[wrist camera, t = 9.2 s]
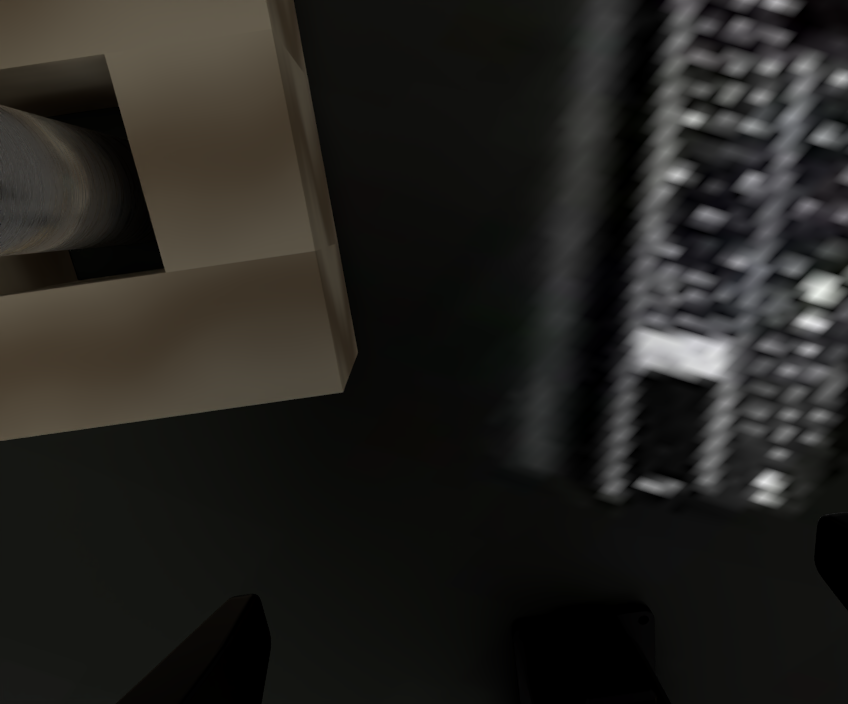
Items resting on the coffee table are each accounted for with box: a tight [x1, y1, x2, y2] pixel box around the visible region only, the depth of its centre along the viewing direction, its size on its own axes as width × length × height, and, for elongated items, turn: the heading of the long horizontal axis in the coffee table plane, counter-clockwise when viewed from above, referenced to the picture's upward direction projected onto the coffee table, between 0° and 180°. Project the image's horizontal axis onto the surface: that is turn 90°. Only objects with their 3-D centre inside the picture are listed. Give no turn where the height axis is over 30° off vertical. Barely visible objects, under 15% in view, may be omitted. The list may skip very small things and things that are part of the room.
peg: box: [0, 105, 156, 256], centre depth 13 cm, size 4×4×8 cm
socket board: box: [0, 0, 358, 441], centre depth 15 cm, size 14×14×4 cm
